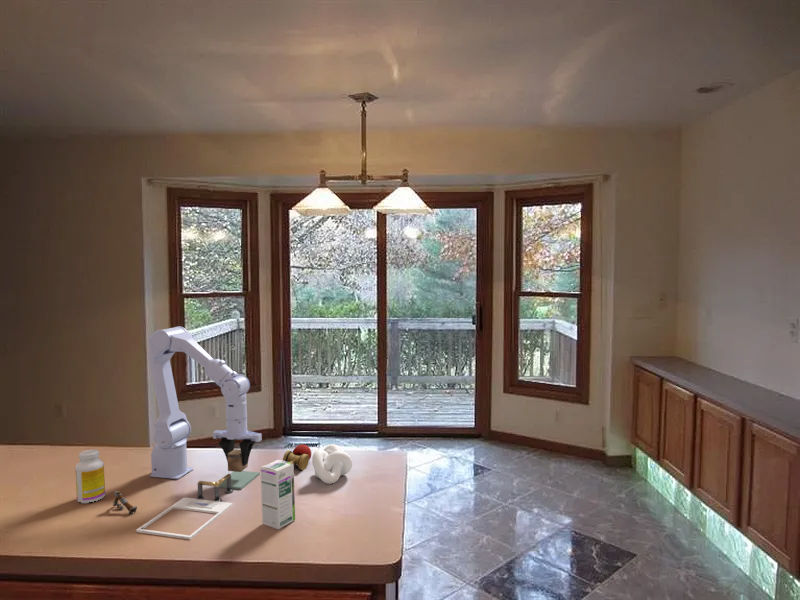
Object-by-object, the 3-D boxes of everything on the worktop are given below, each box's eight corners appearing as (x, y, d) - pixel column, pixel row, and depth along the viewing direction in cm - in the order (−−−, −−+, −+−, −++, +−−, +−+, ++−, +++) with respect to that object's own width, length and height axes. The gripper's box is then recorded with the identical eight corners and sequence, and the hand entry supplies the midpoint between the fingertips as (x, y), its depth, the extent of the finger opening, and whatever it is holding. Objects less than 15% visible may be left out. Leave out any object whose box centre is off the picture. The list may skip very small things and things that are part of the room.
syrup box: (278, 530, 126) (277, 470, 125) (261, 524, 130) (259, 465, 128) (295, 520, 131) (294, 463, 130) (278, 514, 134) (277, 458, 133)
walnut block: (227, 470, 153) (227, 453, 153) (235, 465, 157) (234, 449, 157) (240, 472, 152) (240, 454, 152) (247, 466, 156) (247, 450, 156)
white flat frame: (232, 502, 140) (190, 536, 122) (233, 506, 140) (190, 541, 122) (184, 496, 143) (136, 529, 126) (184, 500, 143) (136, 533, 126)
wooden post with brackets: (115, 501, 140) (119, 487, 139) (133, 520, 137) (137, 506, 135) (108, 504, 138) (112, 490, 137) (127, 523, 135) (130, 509, 134)
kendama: (293, 487, 154) (319, 457, 170) (287, 467, 153) (314, 439, 170) (270, 489, 156) (297, 459, 173) (264, 469, 155) (293, 441, 172)
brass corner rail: (194, 500, 142) (194, 481, 142) (211, 488, 150) (211, 469, 150) (218, 503, 141) (218, 483, 140) (234, 490, 148) (233, 472, 148)
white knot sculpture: (353, 470, 163) (353, 441, 162) (351, 486, 151) (350, 455, 150) (316, 470, 163) (316, 442, 162) (311, 487, 151) (310, 456, 150)
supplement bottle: (110, 496, 145) (108, 450, 144) (87, 506, 139) (85, 458, 138) (94, 491, 148) (92, 446, 147) (71, 501, 142) (68, 454, 141)
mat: (215, 487, 151) (215, 484, 151) (235, 472, 162) (235, 470, 161) (241, 489, 149) (241, 487, 149) (259, 474, 160) (259, 472, 160)
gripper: (206, 420, 152) (207, 466, 153) (252, 423, 148) (254, 471, 149) (219, 413, 159) (221, 458, 159) (264, 416, 155) (265, 461, 156)
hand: (237, 463), depth 155 cm, fingers closed on walnut block, 4 cm apart
